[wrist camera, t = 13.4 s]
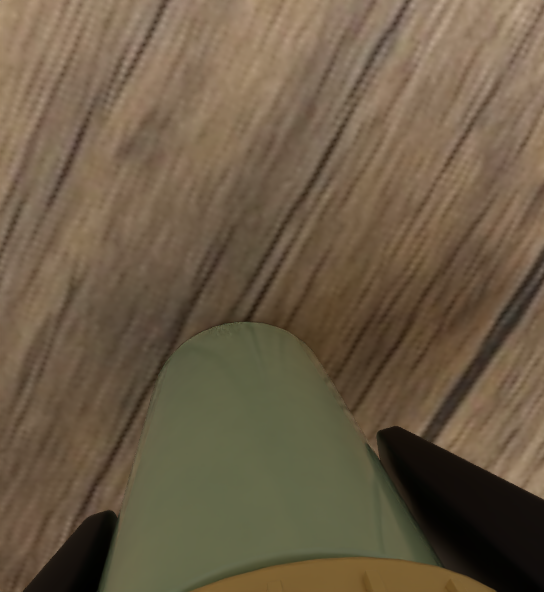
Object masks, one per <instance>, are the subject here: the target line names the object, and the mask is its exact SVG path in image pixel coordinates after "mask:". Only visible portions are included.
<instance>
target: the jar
mask: <svg viewBox="0 0 544 592" xmlns="http://www.w3.org/2000/svg"><path fill="white" fill-rule="evenodd" d="M344 557H373V558H390V559H402V560H407V561H413V562H418V563H424V564H429V565H435V566H438V567H441V568H444V569H446V568H445V566H444V565H443V563H442V561H441V560H440V558H439V556H438V555H437V553H436V551H435V550H434V548H433V547H432V545H431V543H430V542H429V540H428V538H427V537H426V535H425V533H424V532H423V530H422V529H421V527H420V525H419V524H418V522H417V520H416V519H415V517H414V515H413V514H412V512H411V510H410V509H409V507H408V506H407V504H406V502H405V501H404V499H403V497H402V496H401V494H400V492H399V491H398V489H397V488H396V486H395V484H394V483H393V481H392V479H391V478H390V476H389V474H388V473H387V471H386V469H385V468H384V466H383V465H382V463H381V461H380V460H379V458H378V456H377V455H376V453H375V451H374V450H373V448H372V446H371V445H370V443H369V442H368V440H367V438H366V437H365V435H364V433H363V432H362V430H361V428H360V427H359V425H358V424H357V422H356V420H355V419H354V417H353V415H352V414H351V412H350V410H349V409H348V407H347V405H346V404H345V402H344V401H343V399H342V397H341V396H340V394H339V392H338V391H337V389H336V387H335V386H334V384H333V382H332V381H331V379H330V378H329V376H328V374H327V373H326V371H325V369H324V368H323V366H322V364H321V363H320V361H319V360H318V358H317V357H316V355H315V354H314V353H313V351H312V350H311V349H310V348H309V347H308V346H307V345H306V344H305V343H304V342H303V341H301V340H300V339H299V338H298V337H296V336H295V335H293V334H291V333H289V332H288V331H286V330H283V329H281V328H278V327H276V326H272V325H268V324H264V323H257V322H235V323H227V324H223V325H219V326H215V327H213V328H210V329H208V330H205V331H203V332H201V333H199V334H197V335H195V336H193V337H192V338H190V339H189V340H188V341H186V342H185V343H183V344H182V345H181V346H180V347H179V348H178V349H177V350H176V351H175V352H174V353H173V354H172V355H171V356H170V358H169V359H168V360H167V361H166V363H165V364H164V366H163V368H162V369H161V371H160V373H159V375H158V378H157V380H156V382H155V386H154V390H153V393H152V397H151V400H150V404H149V408H148V411H147V415H146V418H145V422H144V426H143V429H142V433H141V436H140V440H139V444H138V447H137V451H136V454H135V458H134V461H133V465H132V469H131V472H130V476H129V479H128V483H127V487H126V490H125V494H124V497H123V501H122V505H121V508H120V512H119V515H118V519H117V523H116V526H115V530H114V533H113V537H112V541H111V544H110V548H109V551H108V555H107V559H106V562H105V566H104V569H103V573H102V577H101V580H100V584H99V587H98V591H97V592H189V591H192V590H194V589H197V588H200V587H203V586H205V585H208V584H211V583H213V582H216V581H219V580H222V579H224V578H228V577H231V576H235V575H239V574H243V573H247V572H251V571H254V570H258V569H262V568H266V567H270V566H275V565H281V564H288V563H294V562H300V561H307V560H313V559H325V558H344Z"/></svg>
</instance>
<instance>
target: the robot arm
mask: <svg viewBox="0 0 544 592" xmlns="http://www.w3.org/2000/svg"><path fill="white" fill-rule="evenodd" d="M376 439H377V445H378V451H379V457H380V461H381V463H382V465H383V466H384V468H385V469H386V471H387V473H388V474H389V476H390V478H391V479H392V481H393V483H394V484H395V486H396V488H397V489H398V491H399V492H400V494H401V496H402V497H403V499H404V501H405V502H406V504H407V506H408V507H409V509H410V510H411V512H412V514H413V515H414V517H415V519H416V520H417V522H418V524H419V525H420V527H421V529H422V530H423V532H424V533H425V535H426V537H427V538H428V540H429V542H430V543H431V545H432V547H433V548H434V550H435V551H436V553H437V555H438V556H439V558H440V560H441V561H442V563H443V565H444V566H445V568H446V569H447V570H450V571H453V572H457V573H460V574H463V575H466V576H468V577H470V578H472V579H474V580H476V581H478V582H480V583H482V584H484V585H486V586H488V587H490V588H492V589H494V590H495V591H497V592H544V499H542V498H540V497H538V496H536V495H534V494H532V493H530V492H528V491H526V490H524V489H522V488H520V487H518V486H516V485H514V484H512V483H510V482H508V481H506V480H504V479H502V478H500V477H498V476H496V475H494V474H492V473H490V472H488V471H486V470H484V469H482V468H480V467H478V466H476V465H474V464H472V463H470V462H468V461H466V460H464V459H462V458H461V457H459V456H457V455H455V454H453V453H451V452H449V451H447V450H445V449H443V448H441V447H439V446H437V445H435V444H433V443H431V442H429V441H427V440H425V439H423V438H421V437H419V436H417V435H415V434H413V433H411V432H409V431H407V430H405V429H403V428H401V427H399V426H393V427H390V428H386V429H383V430H380V431H378V432H377V435H376ZM117 519H118V518H117V516H116V514H115V513H114V512H113V511H111V510H107V511H104V512H100V513H97V514H93V515H91V516H89V517H87V518H86V519H85V520H84V521H83V522H82V524H81V525H80V526H79V527H78V528H77V529H76V530H75V532H74V533H73V534H72V535H71V536H70V537H69V539H68V540H67V541H66V542H65V543H64V544H63V545H62V547H61V548H60V549H59V550H58V551H57V552H56V554H55V555H54V556H53V557H52V558H51V559H50V560H49V562H48V563H47V564H46V565H45V566H44V567H43V568H42V570H41V571H40V572H39V573H38V574H37V575H36V577H35V578H34V579H33V580H32V581H31V582H30V583H29V585H28V586H27V587H26V588H25V589H24V590H23V592H97V591H98V587H99V584H100V580H101V577H102V573H103V569H104V566H105V562H106V559H107V555H108V551H109V548H110V544H111V541H112V537H113V533H114V530H115V526H116V523H117Z"/></svg>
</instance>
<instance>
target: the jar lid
mask: <svg viewBox="0 0 544 592" xmlns="http://www.w3.org/2000/svg"><path fill="white" fill-rule="evenodd" d="M189 592H497V591H495V590H494V589H492V588H490V587H488V586H486V585H484V584H482V583H480V582H478V581H476V580H474V579H472V578H470V577H468V576H466V575H463V574H460V573H457V572H453V571H450V570H447V569H444V568H441V567H438V566H435V565H429V564H424V563H418V562H413V561H407V560H402V559H390V558H373V557H344V558H325V559H313V560H307V561H300V562H294V563H288V564H281V565H275V566H270V567H266V568H262V569H258V570H254V571H251V572H247V573H243V574H239V575H235V576H231V577H228V578H224V579H222V580H219V581H216V582H213V583H211V584H208V585H205V586H203V587H200V588H197V589H194V590H192V591H189Z"/></svg>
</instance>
